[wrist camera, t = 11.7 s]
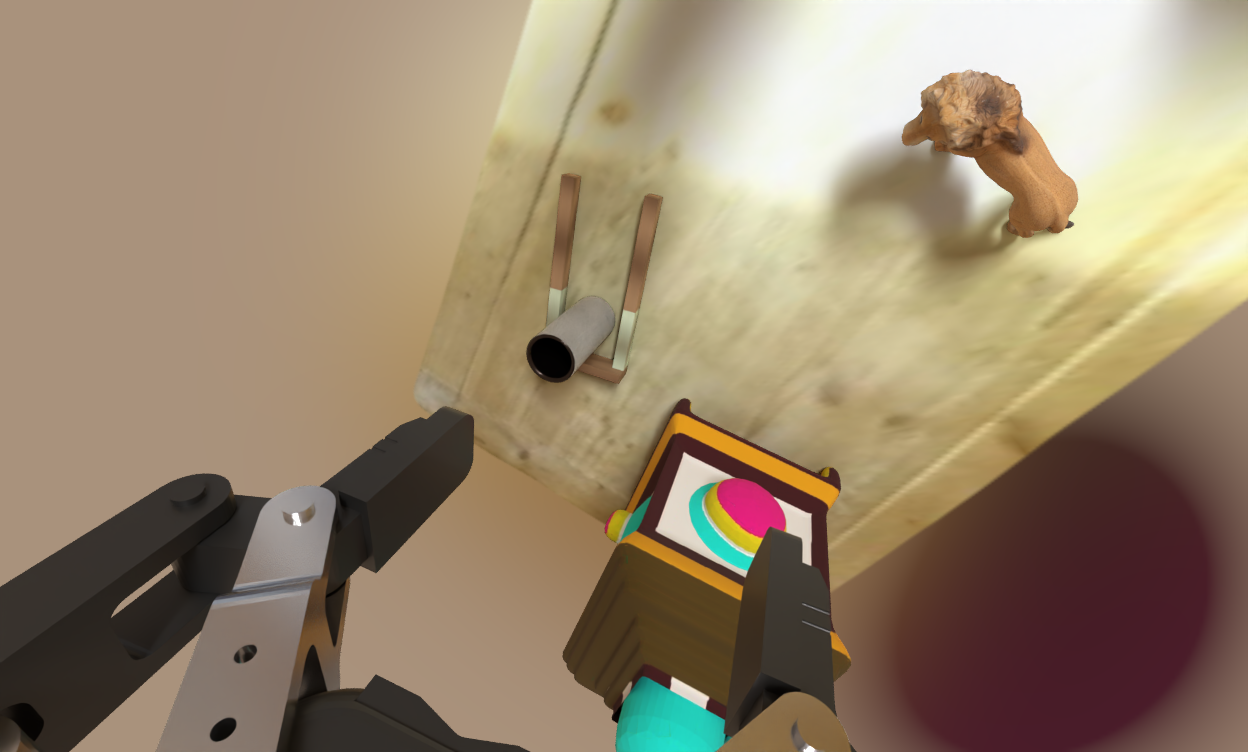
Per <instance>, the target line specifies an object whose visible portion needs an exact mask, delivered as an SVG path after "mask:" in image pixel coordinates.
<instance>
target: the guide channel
mask: <svg viewBox="0 0 1248 752" xmlns="http://www.w3.org/2000/svg"><path fill="white" fill-rule="evenodd" d="M580 181H581V176H578V175H574V174H570V173H568V174H564V175H562V177H561V187H560V197H559V206H558V216H557V226H556V235H555V245H554V255H553V264H552V274H551V284H550V293H549V303H548V313H547V323H546V327H547V326H548V325H549V324H551V323H552V322H553V321H554V320H556V319H557V318H558V317H559V316H560V315H562V314H563V313H564V311H565V303H566V295H567V287H568V279H569V270H570V262H571V254H572V246H573V238H574V230H575V221H576V213H577V205H578V197H579V189H580ZM662 199H663V197H661V196H657V195H653V194H648V195H646V196H645V198H644V204H643V209H642V214H641V219H640V225H639V230H638V235H637V240H636V246H635V251H634V256H633V261H632V267H631V272H630V277H629V282H628V288H627V293H626V298H625V303H624V309H623V314H622V319H621V324H620V330H619V335H618V340H617V345H616V350H615V356H614V360H611V359H608V358H605V357H602V356H599V355H596V354H593V353H592V354H591V355H590V356H589V357H588V358H587V359H586V361H585V362H584V363H583V364H582V365H581V366H580V367H579V368H578V369H577V370H578V371H581V372H584V373H587V374H590V375H593V376H596V377H599V378H602V379H605V380H608V381H611V382H614V383H617V384H619V382H620V381H621V379H622V378H623V377H624V375H625V374H626V371H627V366H628V361H629V356H630V352H631V347H632V342H633V337H634V333H635V328H636V323H637V318H638V313H639V309H640V304H641V299H642V294H643V290H644V285H645V280H646V275H647V270H648V266H649V261H650V256H651V251H652V247H653V242H654V237H655V232H656V227H657V223H658V218H659V213H660V208H661V204H662Z"/></svg>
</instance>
